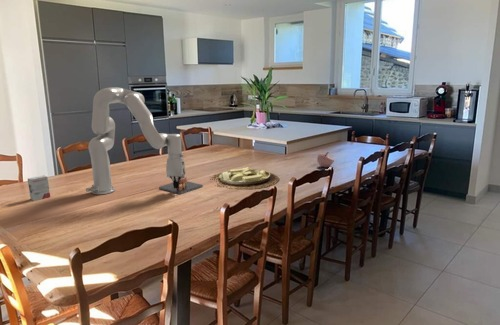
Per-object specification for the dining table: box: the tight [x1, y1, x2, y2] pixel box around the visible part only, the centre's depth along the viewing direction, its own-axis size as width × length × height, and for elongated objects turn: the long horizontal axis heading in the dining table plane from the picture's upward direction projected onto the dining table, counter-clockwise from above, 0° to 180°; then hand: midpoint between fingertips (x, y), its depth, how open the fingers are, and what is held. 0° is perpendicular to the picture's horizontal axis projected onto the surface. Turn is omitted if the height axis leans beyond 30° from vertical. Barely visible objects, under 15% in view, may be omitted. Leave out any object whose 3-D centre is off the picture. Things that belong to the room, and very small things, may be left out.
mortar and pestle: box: [316, 151, 335, 168], centre depth 266 cm, size 12×12×11 cm
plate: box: [209, 166, 281, 191], centre depth 236 cm, size 45×45×7 cm
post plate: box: [158, 178, 204, 195], centre depth 217 cm, size 18×18×7 cm
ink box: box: [27, 174, 51, 202], centre depth 199 cm, size 9×5×12 cm, turn 141°
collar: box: [179, 176, 188, 191], centre depth 214 cm, size 12×6×5 cm, turn 5°
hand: (176, 187), depth 210 cm, fingers closed
